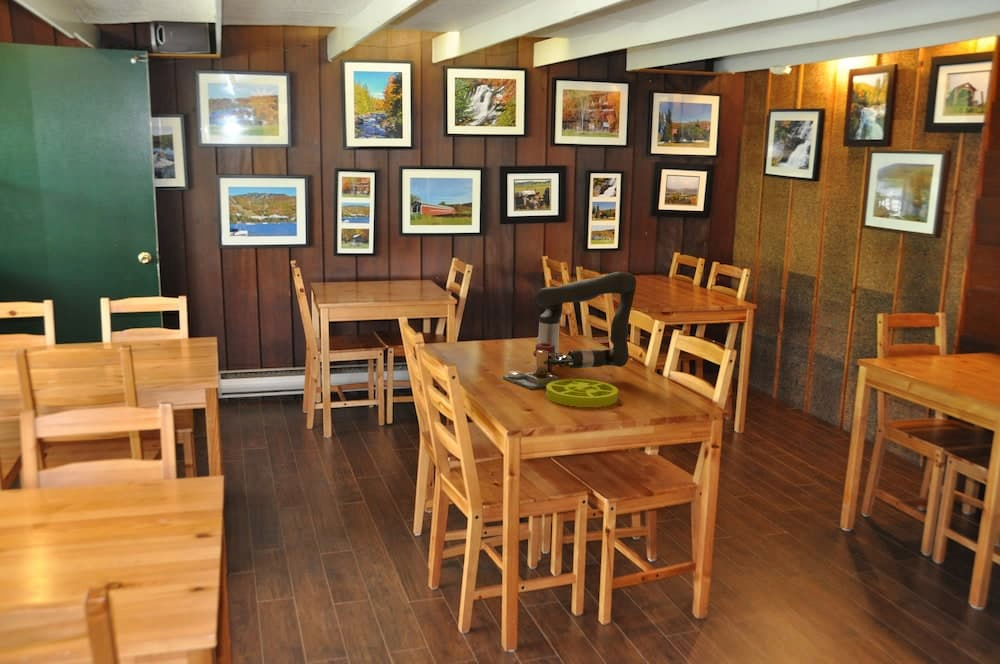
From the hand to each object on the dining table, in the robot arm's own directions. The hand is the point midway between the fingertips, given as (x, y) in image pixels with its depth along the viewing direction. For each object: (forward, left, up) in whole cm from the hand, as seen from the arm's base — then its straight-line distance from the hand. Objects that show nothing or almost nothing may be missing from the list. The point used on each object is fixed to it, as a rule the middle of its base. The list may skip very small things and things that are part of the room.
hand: (543, 360), depth 366 cm
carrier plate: (-3, -3, -9) cm, 10 cm away
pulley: (+25, 0, -10) cm, 27 cm away
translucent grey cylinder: (0, -1, -8) cm, 8 cm away
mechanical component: (-16, +13, -10) cm, 23 cm away
